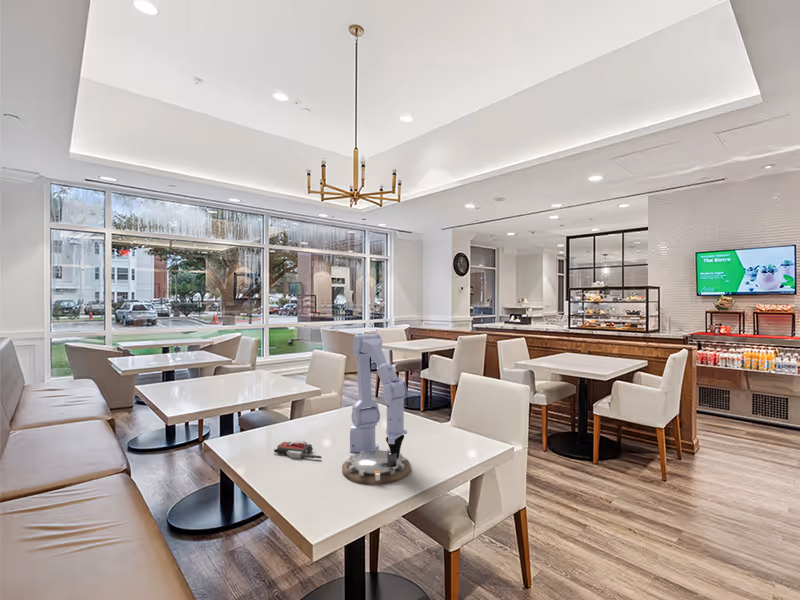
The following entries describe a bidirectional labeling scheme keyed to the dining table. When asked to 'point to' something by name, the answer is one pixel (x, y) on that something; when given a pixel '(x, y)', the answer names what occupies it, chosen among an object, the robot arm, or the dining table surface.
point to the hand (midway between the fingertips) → (395, 458)
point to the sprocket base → (376, 475)
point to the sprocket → (376, 462)
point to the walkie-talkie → (295, 449)
